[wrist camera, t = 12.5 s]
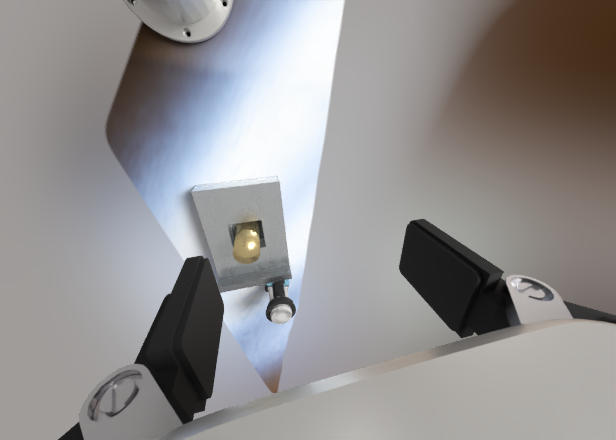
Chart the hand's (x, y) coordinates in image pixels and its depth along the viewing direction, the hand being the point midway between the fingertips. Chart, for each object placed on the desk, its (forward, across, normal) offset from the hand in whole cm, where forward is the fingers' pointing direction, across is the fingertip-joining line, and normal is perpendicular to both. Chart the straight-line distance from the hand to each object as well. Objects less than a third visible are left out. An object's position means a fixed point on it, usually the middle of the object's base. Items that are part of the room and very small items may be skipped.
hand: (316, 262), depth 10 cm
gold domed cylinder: (+28, +6, +13) cm, 32 cm away
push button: (+28, +3, +26) cm, 39 cm away
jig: (+28, +6, +13) cm, 32 cm away
